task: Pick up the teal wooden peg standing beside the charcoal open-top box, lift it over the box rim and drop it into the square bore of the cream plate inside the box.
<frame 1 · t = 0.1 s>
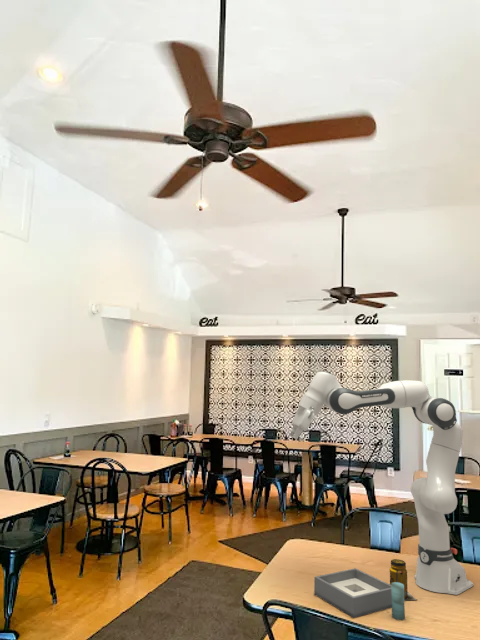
hand: (292, 437, 188), 54 cm above the table, tool tilted 30°, fingers open, 8 cm apart
peg: (398, 617, 154), on the table
socket box: (354, 600, 165), on the table
condiment: (401, 597, 170), on the table
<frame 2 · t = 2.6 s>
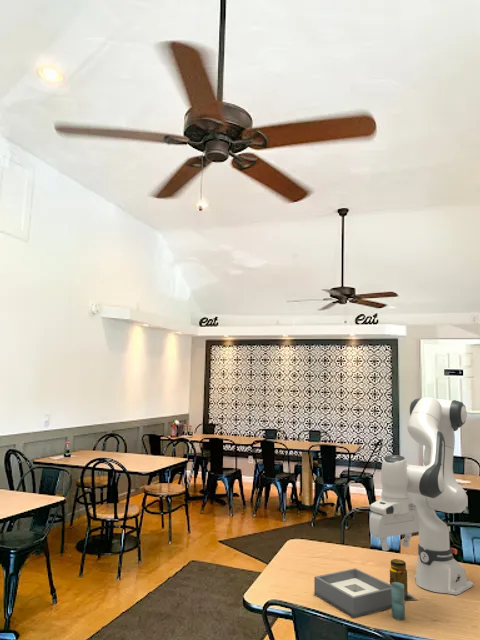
hand: (395, 548, 157), 21 cm above the table, tool pointing down, fingers open, 8 cm apart
nothing on the table moved.
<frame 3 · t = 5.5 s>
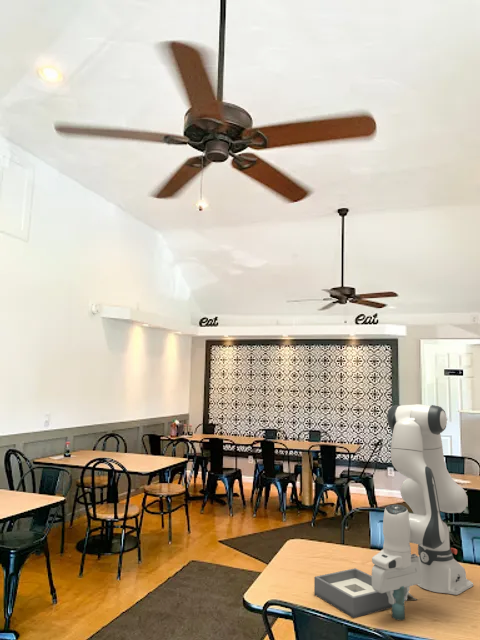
hand: (397, 602, 154), 5 cm above the table, tool pointing down, fingers closed on peg, 4 cm apart
peg: (398, 617, 153), on the table, touching gripper
everything else where it was.
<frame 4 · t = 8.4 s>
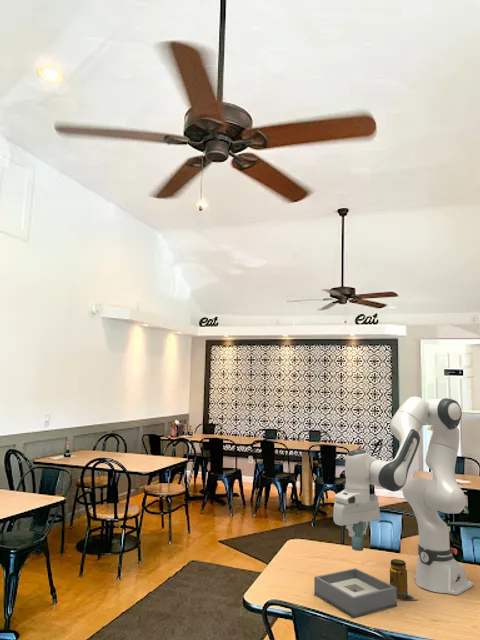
hand: (357, 535, 170), 21 cm above the table, tool pointing down, fingers closed on peg, 4 cm apart
peg: (357, 549, 169), point 17 cm above the table, touching gripper
everything else where it was.
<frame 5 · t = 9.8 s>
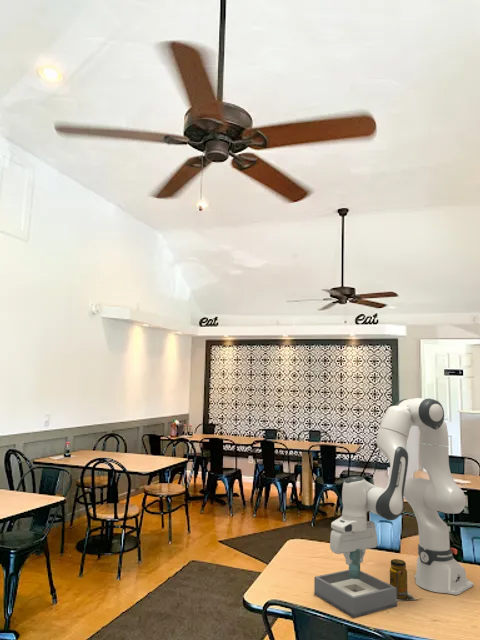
hand: (354, 563, 170), 11 cm above the table, tool pointing down, fingers closed on peg, 4 cm apart
peg: (354, 576, 169), point 7 cm above the table, touching gripper
everything else where it was.
when the fingers open (6 cm above the table, at t = 11.3 s): peg stays where it is, resting on socket box.
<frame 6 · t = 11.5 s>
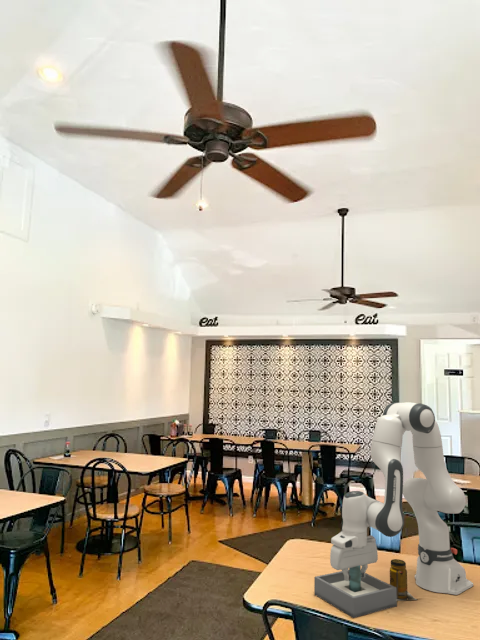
hand: (354, 578, 169), 6 cm above the table, tool pointing down, fingers open, 6 cm apart
peg: (355, 594, 168), point 1 cm above the table, touching socket box
everything else where it was.
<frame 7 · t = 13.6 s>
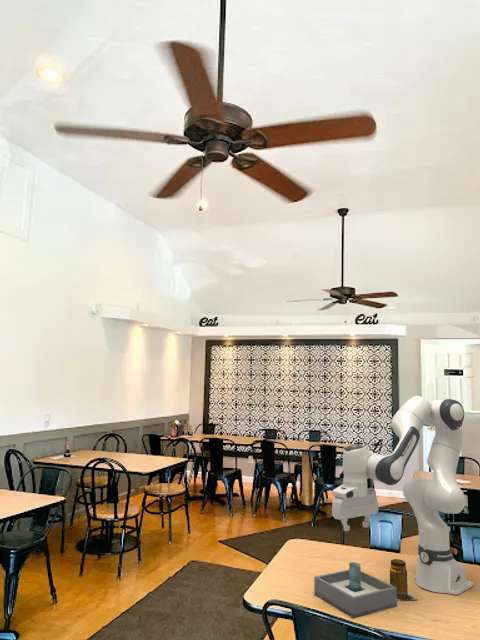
hand: (356, 528, 173), 23 cm above the table, tool pointing down, fingers open, 8 cm apart
nothing on the table moved.
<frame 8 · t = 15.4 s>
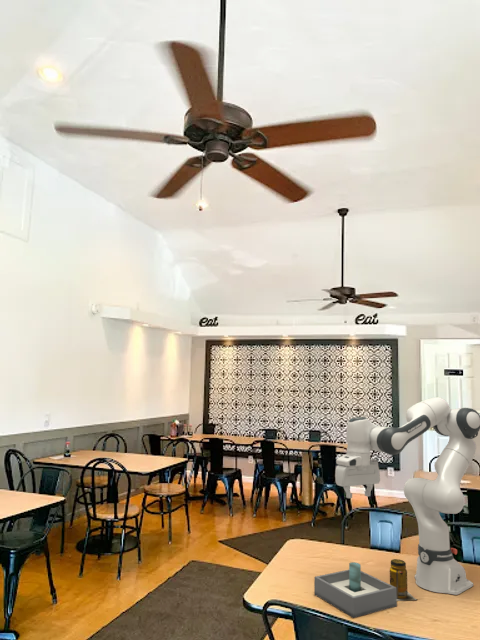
hand: (358, 496, 179), 33 cm above the table, tool pointing down, fingers open, 8 cm apart
nothing on the table moved.
at the end: peg 0.1 cm from the target spot on the socket box, point 1.0 cm above the socket box's base; peg tilted 0°; the gripper is holding nothing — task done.
